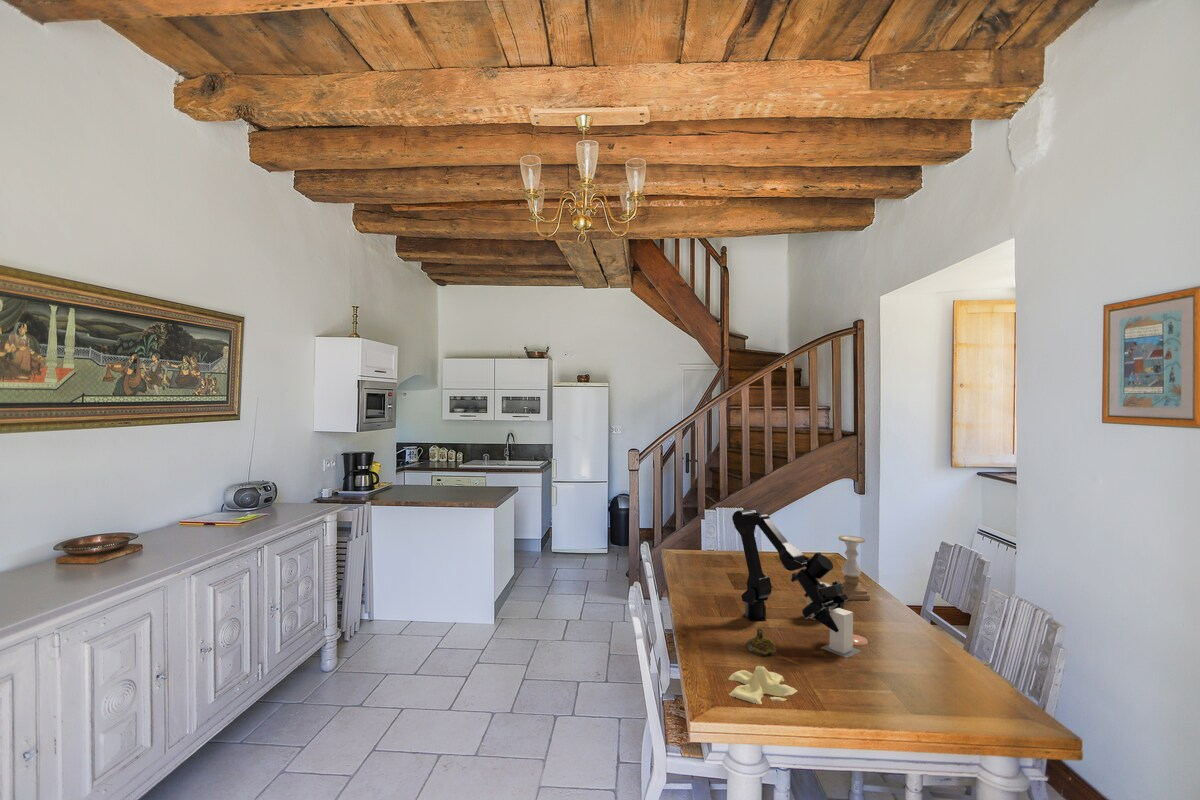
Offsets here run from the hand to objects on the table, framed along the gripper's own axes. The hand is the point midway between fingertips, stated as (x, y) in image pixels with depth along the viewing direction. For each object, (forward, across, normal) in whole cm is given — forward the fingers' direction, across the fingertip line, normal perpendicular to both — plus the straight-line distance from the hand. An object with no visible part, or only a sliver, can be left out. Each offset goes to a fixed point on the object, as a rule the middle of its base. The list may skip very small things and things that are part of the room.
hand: (842, 629), depth 183 cm
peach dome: (+3, +10, +6) cm, 13 cm away
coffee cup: (-11, +21, +20) cm, 31 cm away
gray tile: (+4, 0, +5) cm, 7 cm away
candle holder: (-16, +55, +25) cm, 62 cm away
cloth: (+6, -40, +4) cm, 41 cm away
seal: (-6, -19, +17) cm, 26 cm away
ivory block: (+4, 0, +5) cm, 6 cm away
